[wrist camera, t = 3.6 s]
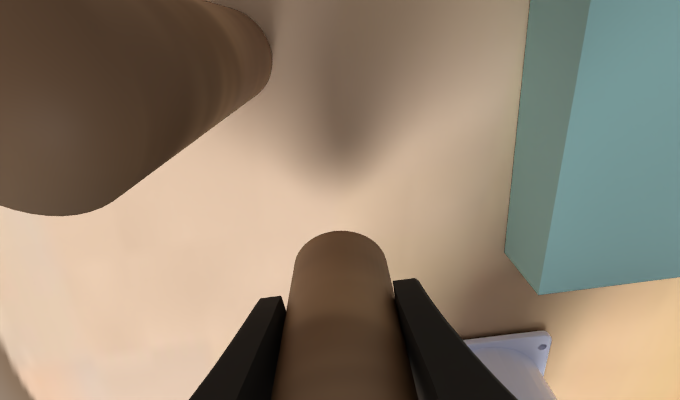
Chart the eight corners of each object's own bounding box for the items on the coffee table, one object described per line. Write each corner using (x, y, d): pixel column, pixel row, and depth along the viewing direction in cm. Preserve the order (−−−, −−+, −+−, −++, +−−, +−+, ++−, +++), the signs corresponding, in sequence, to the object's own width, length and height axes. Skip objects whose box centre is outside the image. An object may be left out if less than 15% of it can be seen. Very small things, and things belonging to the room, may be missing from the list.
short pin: (390, 297, 12) (456, 602, 5) (304, 309, 12) (271, 615, 5) (382, 224, 10) (460, 524, 4) (284, 238, 10) (207, 546, 4)
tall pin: (281, 94, 12) (184, 197, 4) (202, 107, 13) (-27, 231, 5) (258, -1, 11) (53, -107, 3) (170, 16, 11) (-253, -41, 3)
